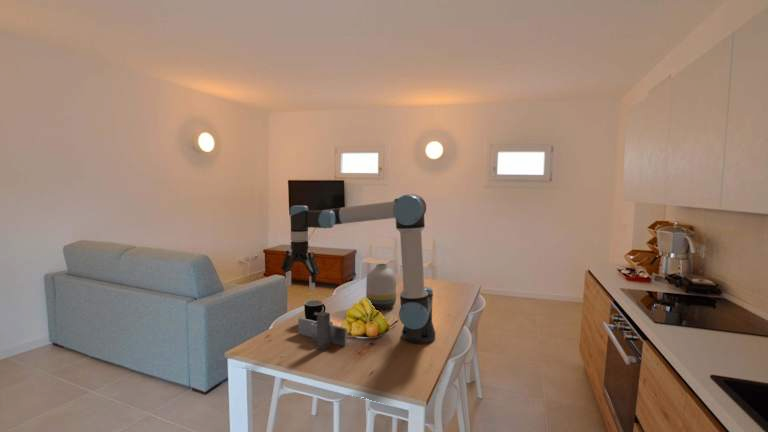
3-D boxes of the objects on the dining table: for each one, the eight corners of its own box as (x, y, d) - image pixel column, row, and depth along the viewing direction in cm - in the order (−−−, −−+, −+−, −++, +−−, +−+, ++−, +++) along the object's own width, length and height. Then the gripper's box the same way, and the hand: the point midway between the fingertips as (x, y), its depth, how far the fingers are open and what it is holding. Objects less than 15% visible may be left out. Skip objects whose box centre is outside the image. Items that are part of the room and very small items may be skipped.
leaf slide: (332, 337, 159) (332, 322, 159) (322, 343, 153) (322, 327, 152) (304, 330, 166) (304, 315, 166) (294, 335, 160) (294, 320, 160)
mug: (312, 328, 170) (312, 307, 169) (300, 323, 176) (300, 303, 175) (331, 320, 180) (331, 301, 179) (319, 316, 185) (319, 297, 184)
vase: (390, 313, 192) (391, 269, 190) (361, 309, 197) (362, 266, 195) (399, 303, 208) (400, 263, 206) (372, 300, 213) (373, 260, 211)
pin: (329, 348, 149) (329, 313, 148) (324, 351, 146) (324, 315, 145) (322, 346, 151) (322, 311, 150) (317, 349, 148) (317, 314, 147)
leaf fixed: (349, 343, 155) (349, 326, 154) (341, 348, 149) (341, 331, 148) (320, 335, 162) (320, 319, 161) (311, 340, 156) (311, 324, 156)
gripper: (327, 241, 155) (327, 289, 157) (284, 237, 167) (285, 282, 169) (316, 243, 149) (316, 294, 150) (272, 239, 160) (273, 286, 162)
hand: (300, 287), depth 159 cm, fingers open, 13 cm apart
